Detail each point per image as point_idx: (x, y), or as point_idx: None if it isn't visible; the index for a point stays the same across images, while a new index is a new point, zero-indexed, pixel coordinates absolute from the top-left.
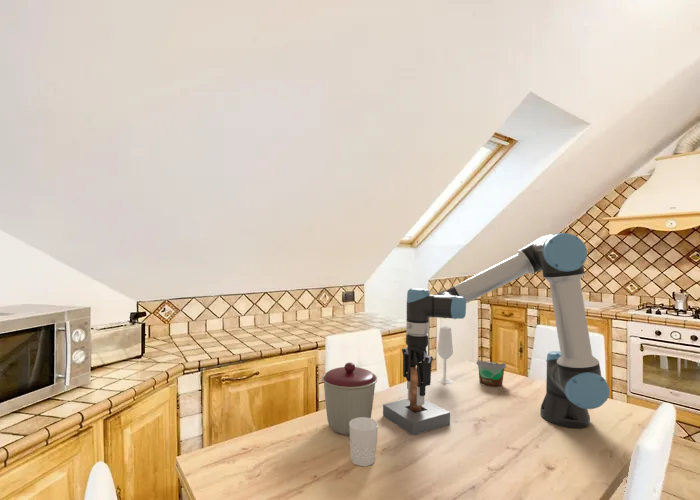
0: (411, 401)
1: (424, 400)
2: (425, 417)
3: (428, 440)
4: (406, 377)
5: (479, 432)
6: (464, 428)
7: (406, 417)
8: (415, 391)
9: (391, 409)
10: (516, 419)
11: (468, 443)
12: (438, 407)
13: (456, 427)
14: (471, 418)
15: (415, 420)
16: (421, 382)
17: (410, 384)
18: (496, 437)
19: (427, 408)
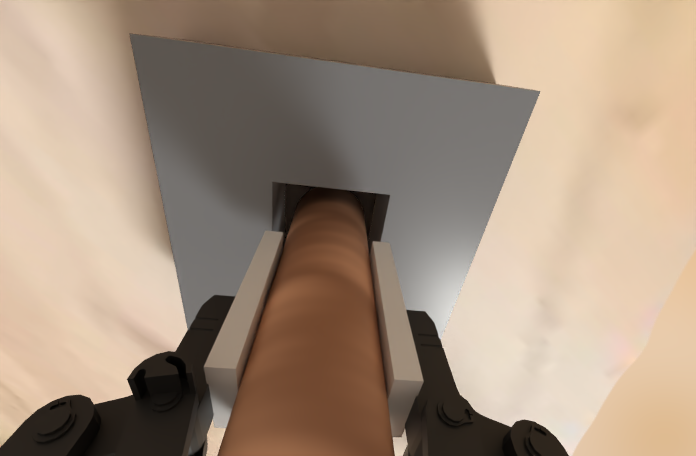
0: (326, 230)
1: None
2: (182, 189)
3: (93, 78)
4: (477, 429)
5: (106, 322)
6: (157, 306)
7: (237, 65)
8: (277, 304)
9: (425, 75)
10: None
11: (18, 225)
12: None
13: (177, 291)
14: None
15: (162, 88)
16: (126, 446)
17: (352, 349)
18: (51, 336)
19: None
